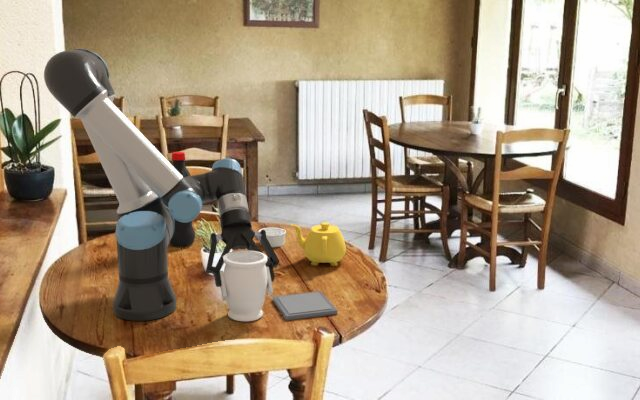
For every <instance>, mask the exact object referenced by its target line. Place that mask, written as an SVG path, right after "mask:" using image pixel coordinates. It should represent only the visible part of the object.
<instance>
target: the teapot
mask: <svg viewBox="0 0 640 400" xmlns="http://www.w3.org/2000/svg"><path fill="white" fill-rule="evenodd" d="M290 225H291V226H292V227H293V228H294V230H295V233H296V240H297V244H298V246H299V248H300V249H302V250H303V253H304V256H305V257H306V258H307V259H308V261H310V262H311V263H310V265H311V266H318V265H319V264H320V263H325V264H326V263H329V266H332V267H337V266H339V263H338V262H340V261H341V260H342V259H343V258H344V257H345V254H346V252H347V251H346V250H347V247H346V246H347V245H346V243H345V239H344V236H343V234H342V232H341V230H340V228H339V227H338V226H337V225H333V224H332V225H331V224H330V223H329V222H320V224H316V225H313V226H312V227H311V228H310V230H309V232H308V233H307V236H306V237H305V238H304V237H303V235H302V229H301V227H300V226H299V225H297V224H294V223H290Z"/></svg>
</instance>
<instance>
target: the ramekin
mask: <svg viewBox="0 0 640 400" xmlns="http://www.w3.org/2000/svg"><path fill="white" fill-rule="evenodd" d="M261 230H265V231H266V238H267V239H268V241H269V243H270V245H271V247H272V248H280V247H282V246H284V245H285V243H286V241H285V240H286V234H287V231H286V229H284V228H280V227H275V226H274V227H272V226H271V227H263V228H261V229H259V230H258V231H257V232H261ZM259 244H260V245H261V243H260V242H259Z"/></svg>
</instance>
